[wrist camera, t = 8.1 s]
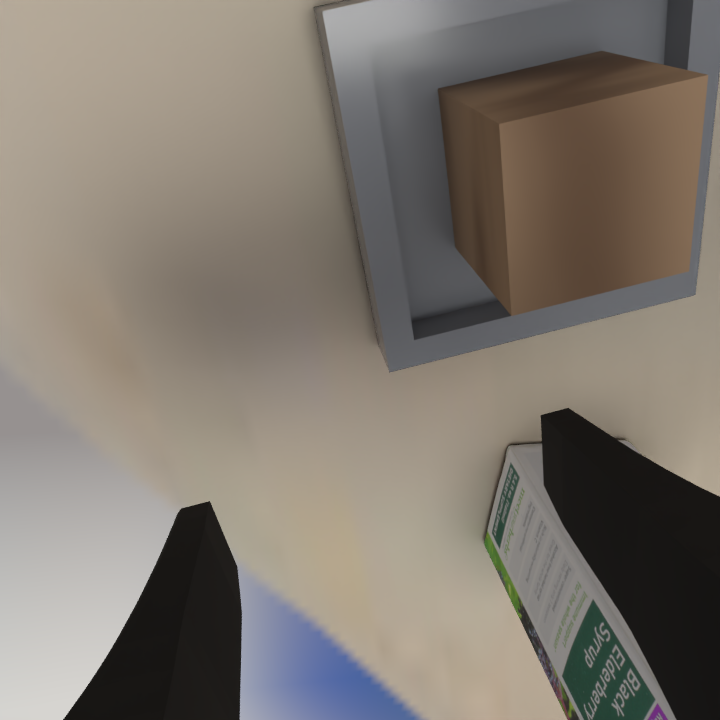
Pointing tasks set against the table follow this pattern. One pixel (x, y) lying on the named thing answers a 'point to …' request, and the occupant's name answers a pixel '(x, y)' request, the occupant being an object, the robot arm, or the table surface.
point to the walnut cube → (574, 176)
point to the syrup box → (566, 603)
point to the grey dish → (427, 155)
